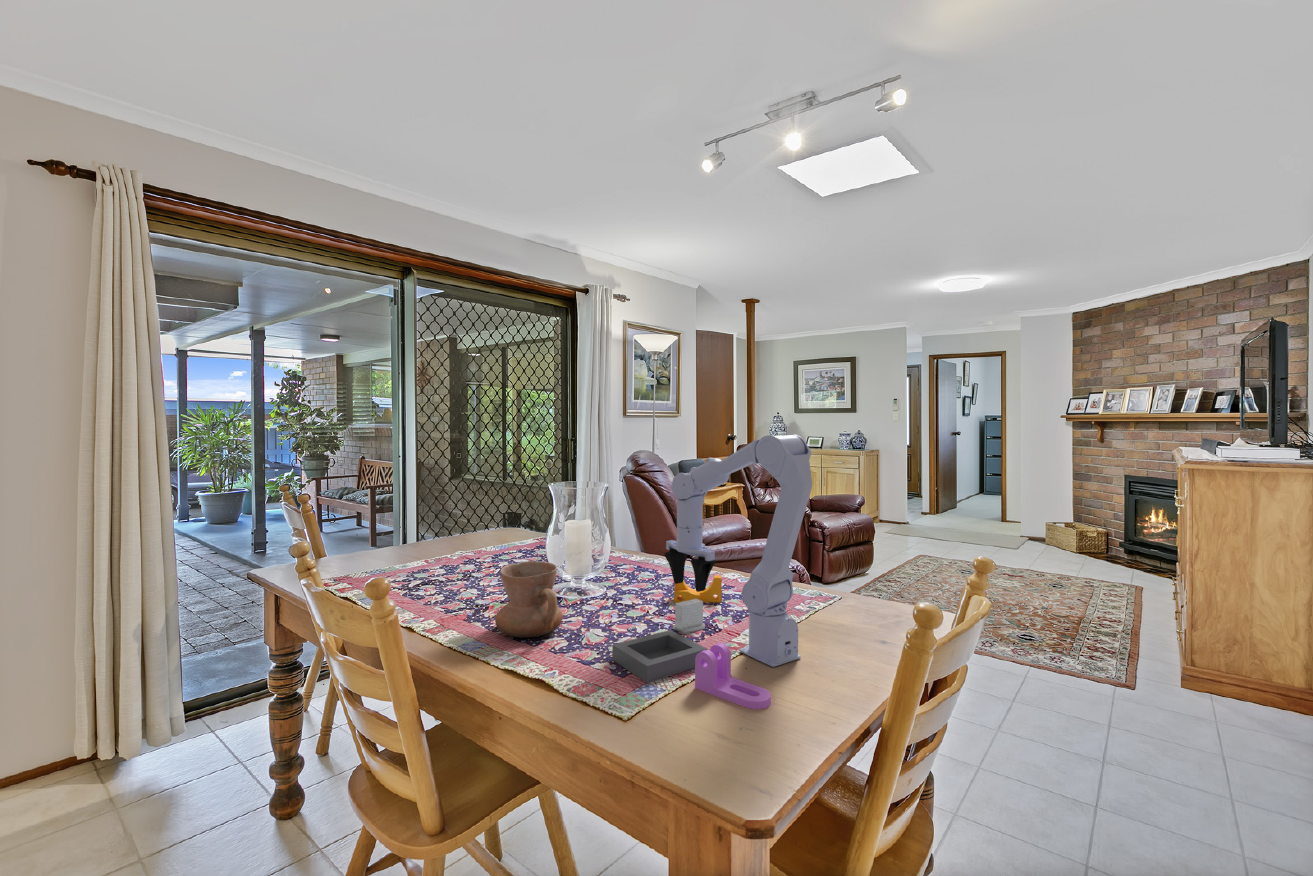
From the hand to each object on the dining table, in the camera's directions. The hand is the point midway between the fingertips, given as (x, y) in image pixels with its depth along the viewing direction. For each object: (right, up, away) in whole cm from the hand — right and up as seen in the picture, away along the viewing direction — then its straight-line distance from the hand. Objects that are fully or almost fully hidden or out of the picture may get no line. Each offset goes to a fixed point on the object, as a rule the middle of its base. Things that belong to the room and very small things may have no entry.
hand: (689, 586), depth 133 cm
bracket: (+6, -11, -31) cm, 34 cm away
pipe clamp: (+3, -9, +20) cm, 22 cm away
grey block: (0, -9, 0) cm, 9 cm away
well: (-7, -10, -18) cm, 22 cm away
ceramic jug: (-35, -10, -3) cm, 36 cm away
